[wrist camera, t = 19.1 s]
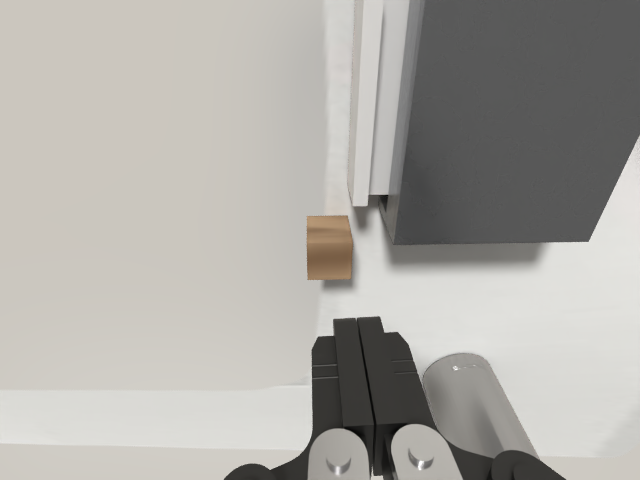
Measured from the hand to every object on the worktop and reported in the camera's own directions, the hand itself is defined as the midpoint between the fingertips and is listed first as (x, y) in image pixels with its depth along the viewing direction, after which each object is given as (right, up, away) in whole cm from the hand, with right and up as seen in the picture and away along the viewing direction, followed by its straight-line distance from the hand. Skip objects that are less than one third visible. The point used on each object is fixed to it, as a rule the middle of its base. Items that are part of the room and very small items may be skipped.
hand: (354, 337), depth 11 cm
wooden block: (0, +4, +24) cm, 24 cm away
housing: (+13, +15, +18) cm, 26 cm away
